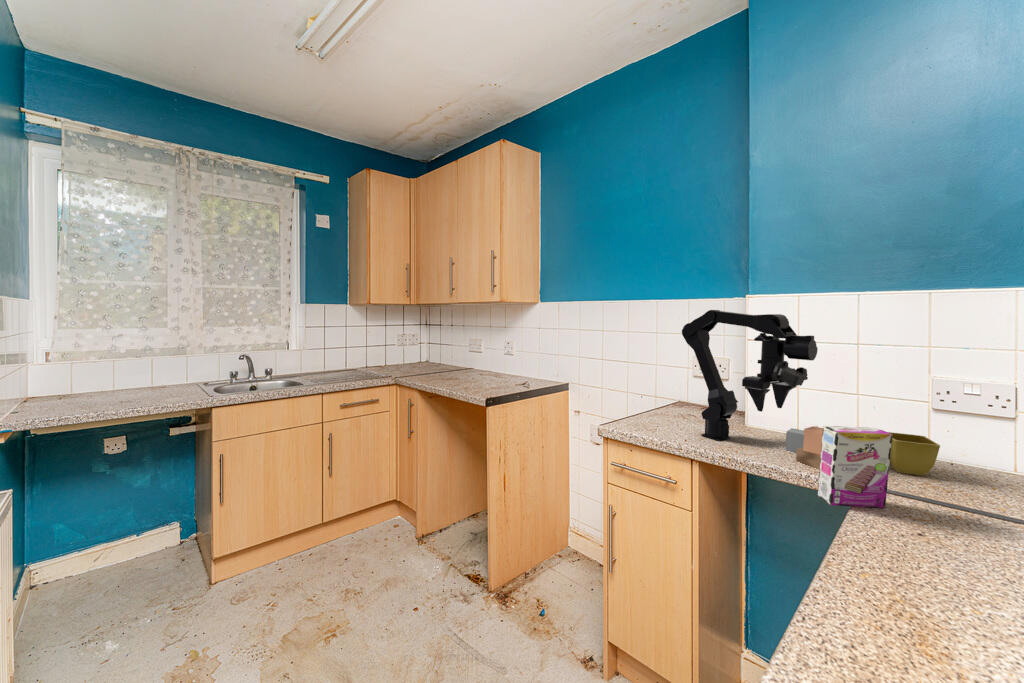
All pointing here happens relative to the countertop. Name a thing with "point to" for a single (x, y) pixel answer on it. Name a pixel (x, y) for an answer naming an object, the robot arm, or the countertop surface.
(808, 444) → the terracotta block
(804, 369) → the robot arm
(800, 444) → the grey block
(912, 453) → the flower pot
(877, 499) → the candy bar box
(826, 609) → the countertop surface
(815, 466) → the base block
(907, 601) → the countertop surface
